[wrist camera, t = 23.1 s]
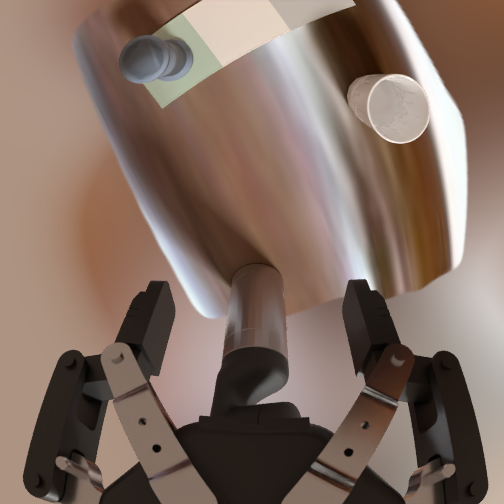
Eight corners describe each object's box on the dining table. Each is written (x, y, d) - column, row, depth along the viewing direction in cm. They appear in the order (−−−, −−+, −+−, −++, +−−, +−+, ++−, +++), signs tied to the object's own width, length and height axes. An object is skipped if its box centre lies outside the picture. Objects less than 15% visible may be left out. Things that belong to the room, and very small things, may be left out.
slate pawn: (202, 63, 31) (182, 61, 23) (165, 89, 33) (136, 97, 25) (177, 31, 28) (150, 21, 20) (142, 58, 30) (107, 58, 22)
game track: (354, 5, 25) (355, 4, 25) (163, 108, 35) (162, 108, 35) (314, -49, 20) (314, -50, 20) (124, 57, 30) (123, 57, 30)
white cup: (366, 60, 30) (397, 59, 22) (404, 99, 32) (441, 112, 24) (330, 98, 34) (352, 108, 25) (370, 136, 36) (399, 157, 28)
